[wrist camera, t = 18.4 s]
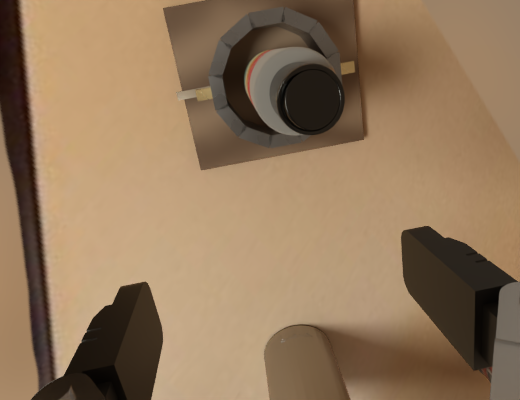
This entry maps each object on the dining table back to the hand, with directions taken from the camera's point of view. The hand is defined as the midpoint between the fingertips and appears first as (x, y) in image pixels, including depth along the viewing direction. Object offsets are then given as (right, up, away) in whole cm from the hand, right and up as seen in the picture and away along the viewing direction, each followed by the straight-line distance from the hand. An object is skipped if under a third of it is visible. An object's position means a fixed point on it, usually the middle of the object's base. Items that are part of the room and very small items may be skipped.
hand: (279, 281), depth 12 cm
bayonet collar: (0, +15, +27) cm, 31 cm away
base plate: (0, +15, +28) cm, 32 cm away
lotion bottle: (0, +15, +27) cm, 31 cm away
